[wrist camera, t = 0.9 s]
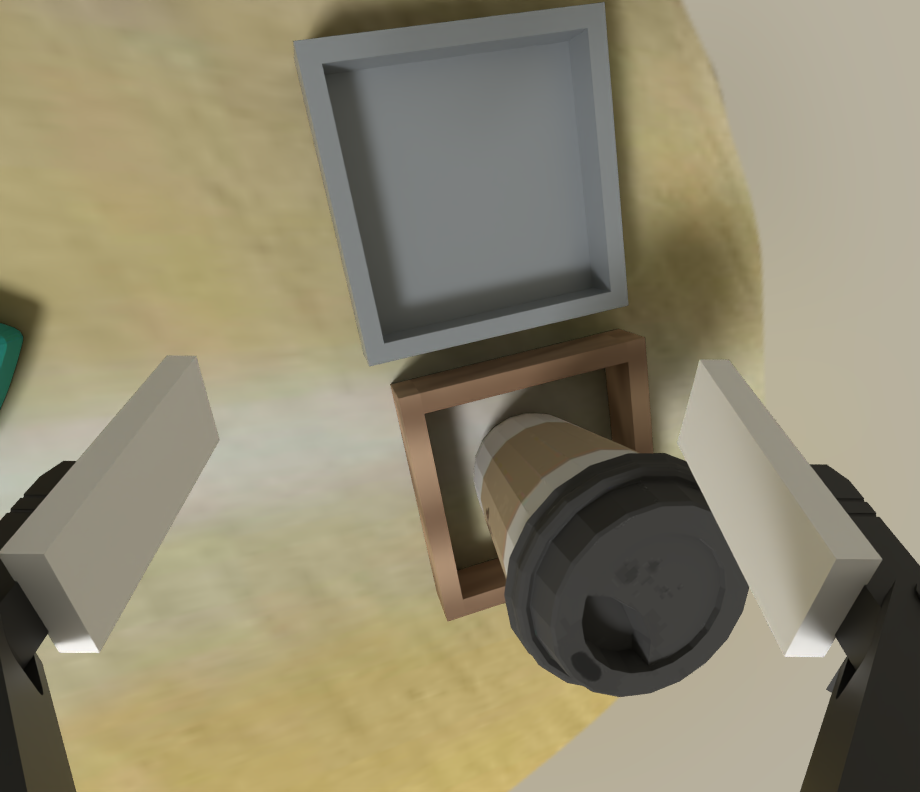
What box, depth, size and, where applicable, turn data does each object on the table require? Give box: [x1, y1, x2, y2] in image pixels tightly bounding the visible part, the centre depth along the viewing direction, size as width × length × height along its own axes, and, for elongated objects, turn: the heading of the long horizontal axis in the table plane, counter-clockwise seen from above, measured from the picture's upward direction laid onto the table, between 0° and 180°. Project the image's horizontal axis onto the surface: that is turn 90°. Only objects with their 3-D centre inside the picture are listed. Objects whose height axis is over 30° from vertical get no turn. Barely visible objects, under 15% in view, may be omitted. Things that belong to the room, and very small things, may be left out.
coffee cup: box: [474, 413, 749, 697], centre depth 31 cm, size 11×11×15 cm
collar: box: [390, 329, 653, 621], centre depth 36 cm, size 15×15×3 cm
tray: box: [293, 2, 628, 366], centre depth 31 cm, size 15×15×3 cm
